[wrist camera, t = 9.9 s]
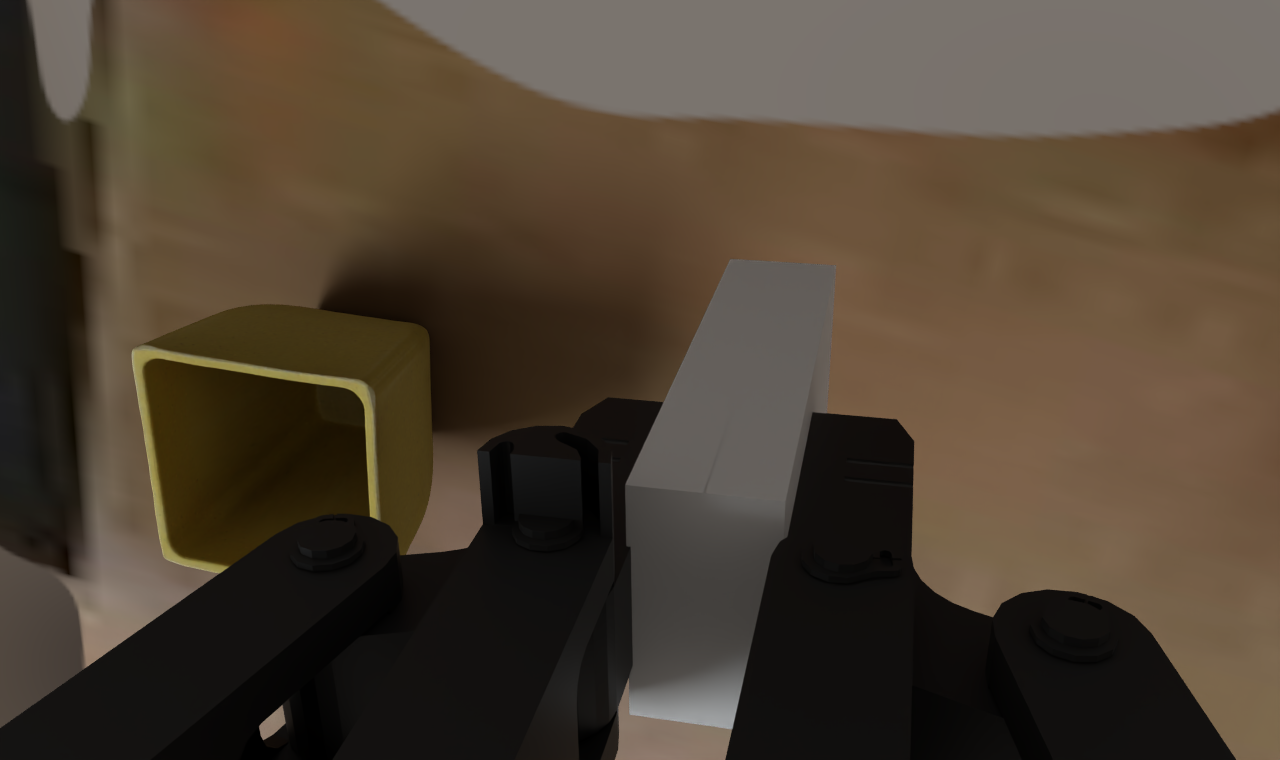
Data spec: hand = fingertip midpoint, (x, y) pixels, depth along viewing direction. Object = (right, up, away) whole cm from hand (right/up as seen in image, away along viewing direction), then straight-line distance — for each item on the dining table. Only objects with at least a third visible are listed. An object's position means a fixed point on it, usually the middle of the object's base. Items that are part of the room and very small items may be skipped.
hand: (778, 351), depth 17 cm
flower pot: (-13, 0, +31) cm, 34 cm away
